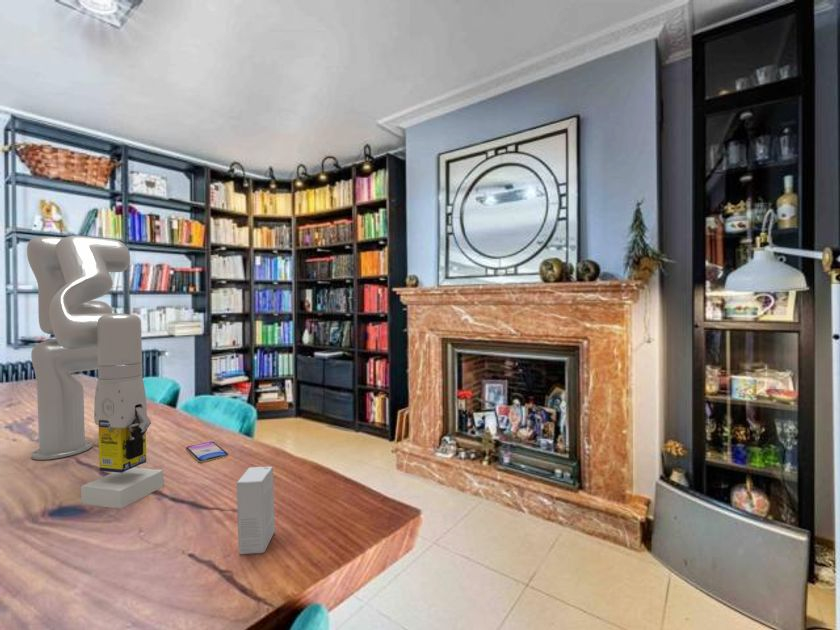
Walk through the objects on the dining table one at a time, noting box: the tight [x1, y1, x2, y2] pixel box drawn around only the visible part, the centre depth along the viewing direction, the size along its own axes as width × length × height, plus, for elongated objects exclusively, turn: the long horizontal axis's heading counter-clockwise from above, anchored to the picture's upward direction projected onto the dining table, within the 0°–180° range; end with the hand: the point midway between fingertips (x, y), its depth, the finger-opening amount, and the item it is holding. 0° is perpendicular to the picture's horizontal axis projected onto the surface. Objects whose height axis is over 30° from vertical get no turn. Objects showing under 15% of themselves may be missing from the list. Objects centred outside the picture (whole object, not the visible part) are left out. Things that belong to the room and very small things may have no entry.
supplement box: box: [98, 419, 147, 473], centre depth 84 cm, size 6×6×11 cm
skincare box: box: [236, 466, 275, 555], centre depth 66 cm, size 6×4×12 cm
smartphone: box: [185, 441, 229, 464], centre depth 108 cm, size 8×15×1 cm, turn 43°
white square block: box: [80, 466, 165, 510], centre depth 84 cm, size 10×10×4 cm
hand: (123, 454), depth 84 cm, fingers closed on supplement box, 6 cm apart
